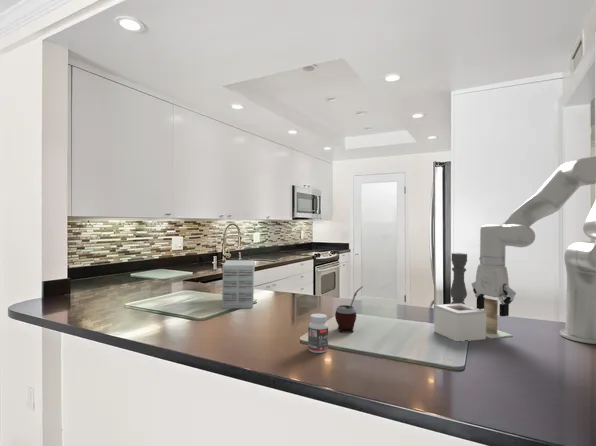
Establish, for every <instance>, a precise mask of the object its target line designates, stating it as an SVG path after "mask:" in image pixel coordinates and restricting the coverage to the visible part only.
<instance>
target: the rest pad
mask: <svg viewBox="0 0 596 446" xmlns="http://www.w3.org/2000/svg"><path fill="white" fill-rule="evenodd" d="M510 337H513V334H511V333H508V332H505V331H501V330H499V329H497V334H489V333H486V338H488V339H500V338H501V339H502V338H510Z"/></svg>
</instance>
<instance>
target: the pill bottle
mask: <svg viewBox="0 0 596 446" xmlns="http://www.w3.org/2000/svg"><path fill="white" fill-rule="evenodd" d="M327 320H328V316H327V314H324V313H312V314H310V322H309V323H308V329H307V331H308V332H307V349H308V351H309V352H311V353H315V354H322V353H326V352H327V351H328V350H329V325H328V323H327Z"/></svg>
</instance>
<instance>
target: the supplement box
mask: <svg viewBox="0 0 596 446" xmlns="http://www.w3.org/2000/svg"><path fill="white" fill-rule="evenodd" d="M254 289H255V260H243V259H242V260H241V259H239V260H235V259H234V260H233V259H232V260H231V259H230V260H228V259H227V260H225V262H224V263H223V265H222V290H221V291H222V294H221V295H222V299H221V300H222V301H221V308H222V309H253V308H254V300H255V299H254V298H255V297H254V294H255V292H254V291H255V290H254Z"/></svg>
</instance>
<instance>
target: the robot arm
mask: <svg viewBox="0 0 596 446" xmlns="http://www.w3.org/2000/svg"><path fill="white" fill-rule="evenodd" d="M588 185H589V186H590V185H591V186H592V185H596V156H588V157H581V158H577V159H574V160H570V161H566V162H564V163H563V164H561V165H560V166H558V168H557V169H556V170H555V171H554V172H553V173H552V174H551V175H550V176H549V177H548V179H547V180H546V181H545V182H544V183H543V184H542V185H541V187H539V189H538V190H537V191H536V192H535V194H533V195H532V196H531V197H530V198H529V199H527V200H526V201H524V203H523V204H521V205H520V206H519V207H517V208H516V209H515V210H514V211H513V212H512V213H511V214H510V215H509V216H508V217H507V218H506V220H505V221H504V222H503V223H502V224H484V225H482V226H481V227H480V232H479V233H480V234H479V237H480V238H479V239H480V240H479V241H480V242H479V247H480V248H479V250H480V252H479V259H478V260H479V264H478V265H477V269H476V275H475V281H474V282H472V283H471V287H472V289H473V293H474V296H475V298H476V308H478V309H481V310H484V299H485V298H486V296H487V297H491V298H498V300H499V302H500V303H499V309H498V312H499V316H500V317H509V314H510V304H511V303H512V302H513V301H514V299H515V296H516V294H517V293H516V291H515V290H513V289H512V288H511V287H510V285H509V283H510V282H509V274H508V268H507V266H506V247H514V248H527V247H529V246H530V245H532V244H533V243H534V242H535V240H536V233H535V230H533V229H532V228H531V226H533V225H534V224H535V223H537V222H538V221H540V220H541V219H543V218H546V217H548V216H551V215H553V214H554V213H556V212H558V211H559V210H560V209H561V208H562V207H563V206H564V205H565V204H566V202H568V200H569V199H570V198H571V197H572V196H573V195H574V194H575V192H577V190H578V189H579V188H580V187H582V186H588ZM582 231H583V233H584V235H586V236H587V237H588V238H589V239H591V240H592V239H593V240H596V199H595V200H594V203H593V204H592V207H591V208H590V210H589V213H588V215H587V217H586V219H585V221H584V223H583V227H582ZM564 251H565V252H564V256H563V258H564V265H565V273H566V295H565V296H566V297H565V298H566V299H565V301H566V303H565V328H562V329H560V330H559V334H560V336H561V337H563V338H565V339H568V340H571V341H575V342H578V343H583V344H584V343H585V344H588V345H589V344H591V345H596V241H585V240H582V241H576V242H573V243H571V244H570V245H568V247H566V248H565V250H564Z"/></svg>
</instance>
